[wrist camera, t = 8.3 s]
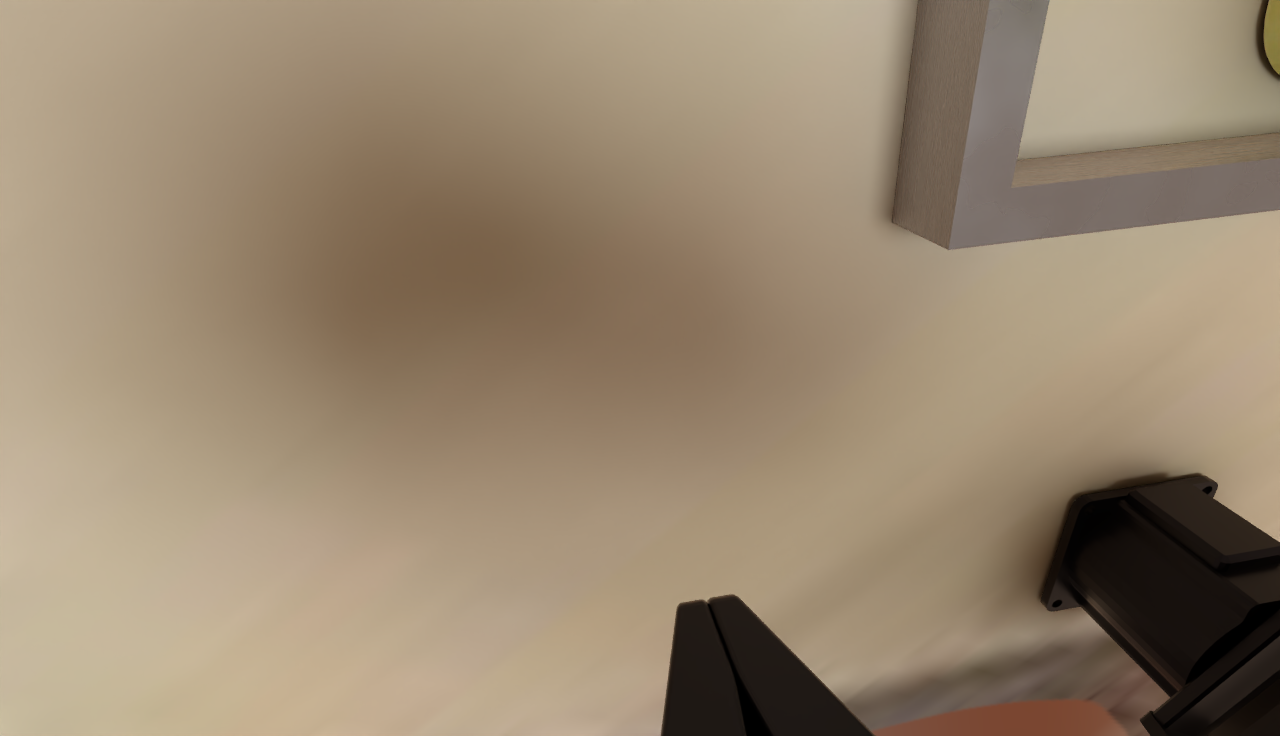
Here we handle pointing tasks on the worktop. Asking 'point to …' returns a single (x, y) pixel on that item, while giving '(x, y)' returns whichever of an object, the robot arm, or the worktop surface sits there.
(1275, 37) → the tube
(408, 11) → the worktop surface
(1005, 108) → the u collar
